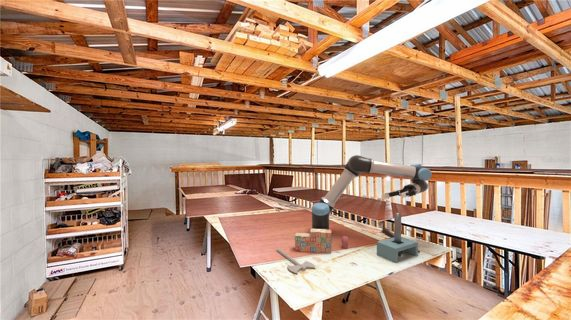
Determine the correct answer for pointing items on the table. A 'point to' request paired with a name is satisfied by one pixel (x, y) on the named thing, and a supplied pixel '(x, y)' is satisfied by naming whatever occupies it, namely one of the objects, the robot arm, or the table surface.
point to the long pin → (397, 229)
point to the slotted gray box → (389, 233)
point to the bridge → (396, 248)
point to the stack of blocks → (314, 241)
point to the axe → (296, 263)
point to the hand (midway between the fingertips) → (391, 196)
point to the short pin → (344, 242)
